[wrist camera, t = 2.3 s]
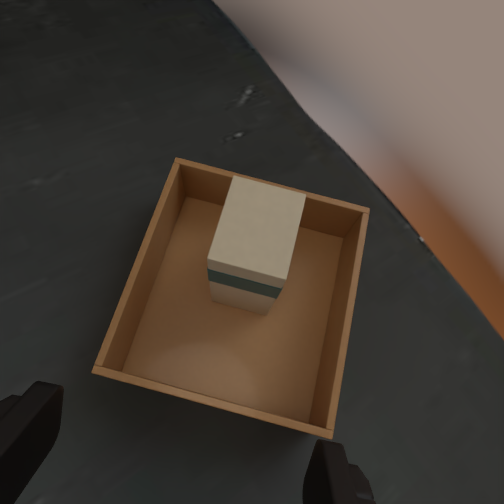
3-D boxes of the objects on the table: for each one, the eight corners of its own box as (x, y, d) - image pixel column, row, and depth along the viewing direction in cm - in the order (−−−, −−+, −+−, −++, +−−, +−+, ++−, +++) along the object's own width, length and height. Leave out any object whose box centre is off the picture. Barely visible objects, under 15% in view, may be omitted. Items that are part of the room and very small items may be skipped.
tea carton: (267, 316, 30) (287, 281, 21) (210, 301, 30) (205, 259, 21) (282, 252, 32) (307, 193, 23) (229, 238, 32) (233, 173, 23)
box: (312, 432, 28) (332, 439, 23) (113, 377, 28) (90, 372, 23) (348, 236, 34) (370, 208, 29) (182, 192, 34) (175, 156, 29)
